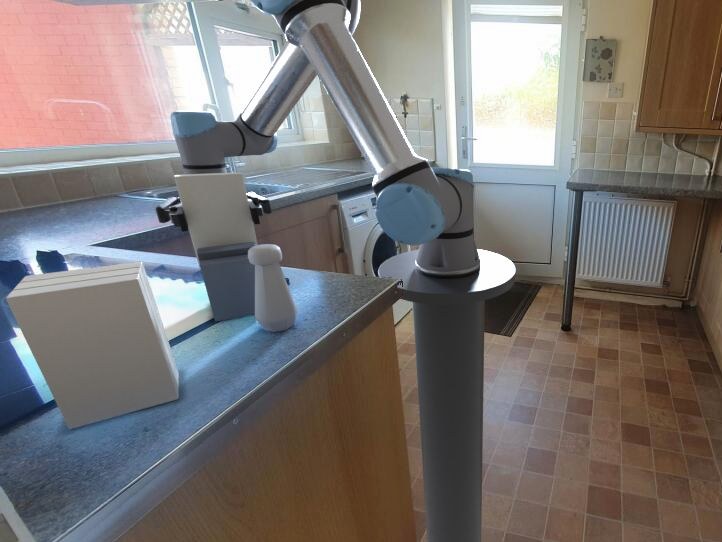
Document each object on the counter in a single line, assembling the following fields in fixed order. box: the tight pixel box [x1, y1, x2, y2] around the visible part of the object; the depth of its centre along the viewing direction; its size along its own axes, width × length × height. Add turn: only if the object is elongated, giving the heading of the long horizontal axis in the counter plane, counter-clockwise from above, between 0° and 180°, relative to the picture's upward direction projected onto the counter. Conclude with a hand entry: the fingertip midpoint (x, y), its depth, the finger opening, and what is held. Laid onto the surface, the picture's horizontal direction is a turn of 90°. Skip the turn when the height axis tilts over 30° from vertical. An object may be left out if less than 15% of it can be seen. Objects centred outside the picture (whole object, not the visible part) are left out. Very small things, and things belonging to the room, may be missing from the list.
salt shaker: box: [248, 243, 298, 333], centre depth 62 cm, size 6×6×13 cm
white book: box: [173, 171, 259, 268], centre depth 69 cm, size 9×2×15 cm, turn 127°
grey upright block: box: [197, 242, 258, 323], centre depth 67 cm, size 8×8×10 cm
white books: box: [5, 261, 180, 430], centre depth 44 cm, size 9×6×15 cm
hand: (220, 219), depth 65 cm, fingers closed on white book, 9 cm apart
